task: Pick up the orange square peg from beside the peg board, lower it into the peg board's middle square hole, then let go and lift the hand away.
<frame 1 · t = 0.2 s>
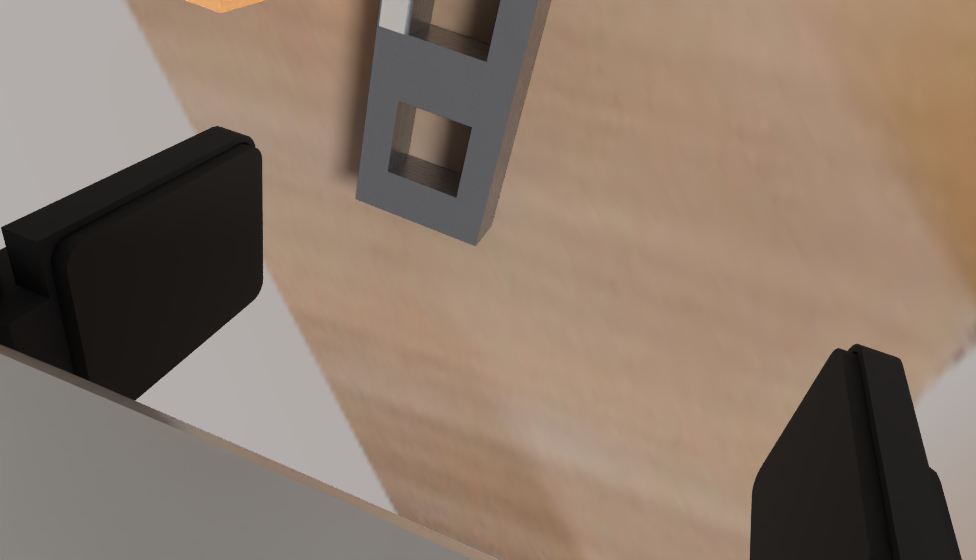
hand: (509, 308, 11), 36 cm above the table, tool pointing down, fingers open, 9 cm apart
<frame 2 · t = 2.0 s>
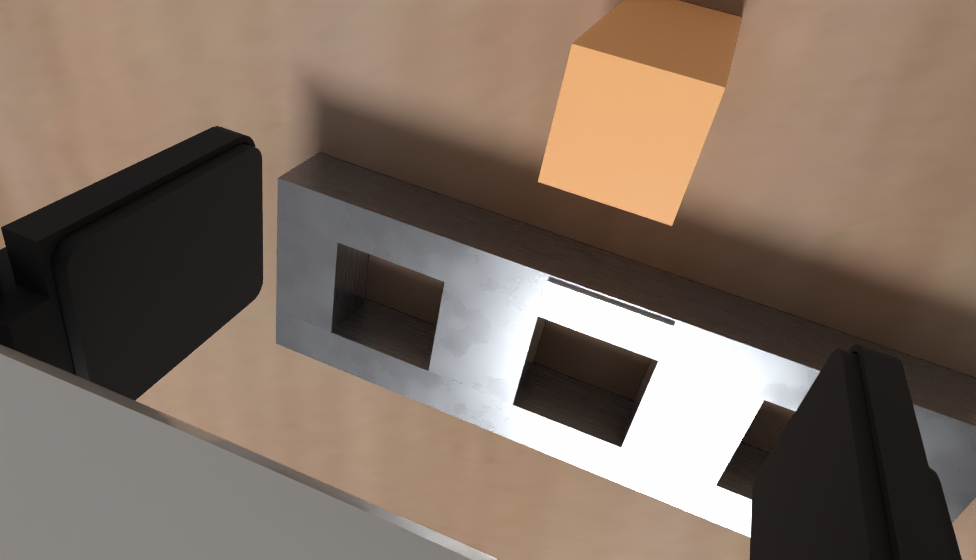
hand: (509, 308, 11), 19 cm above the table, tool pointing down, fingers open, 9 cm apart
square peg: (670, 56, 27), on the table
peg board: (597, 341, 34), on the table
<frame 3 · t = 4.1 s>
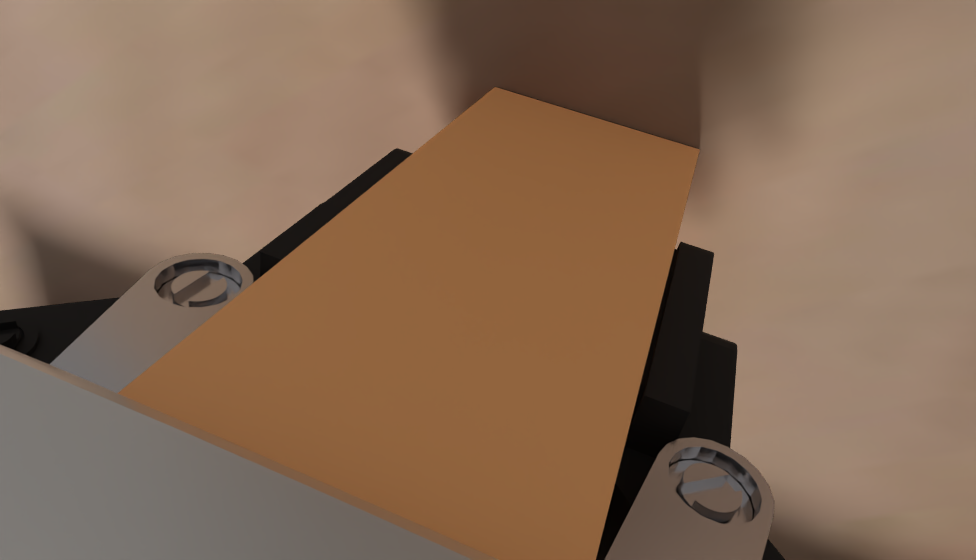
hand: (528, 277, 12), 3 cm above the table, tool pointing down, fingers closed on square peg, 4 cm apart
square peg: (567, 209, 14), on the table, touching gripper
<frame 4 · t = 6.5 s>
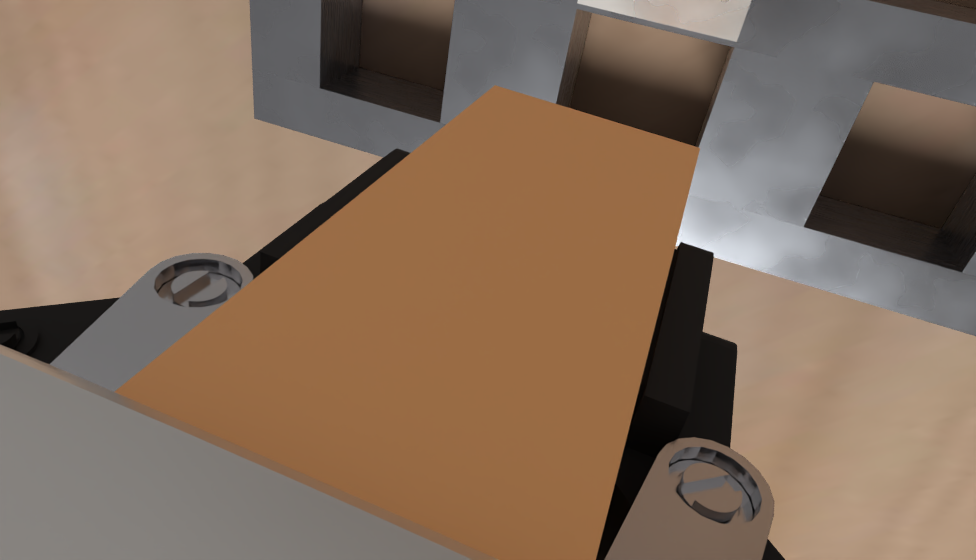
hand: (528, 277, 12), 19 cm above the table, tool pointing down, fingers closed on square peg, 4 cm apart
square peg: (568, 208, 14), point 16 cm above the table, touching gripper
peg board: (645, 79, 28), on the table
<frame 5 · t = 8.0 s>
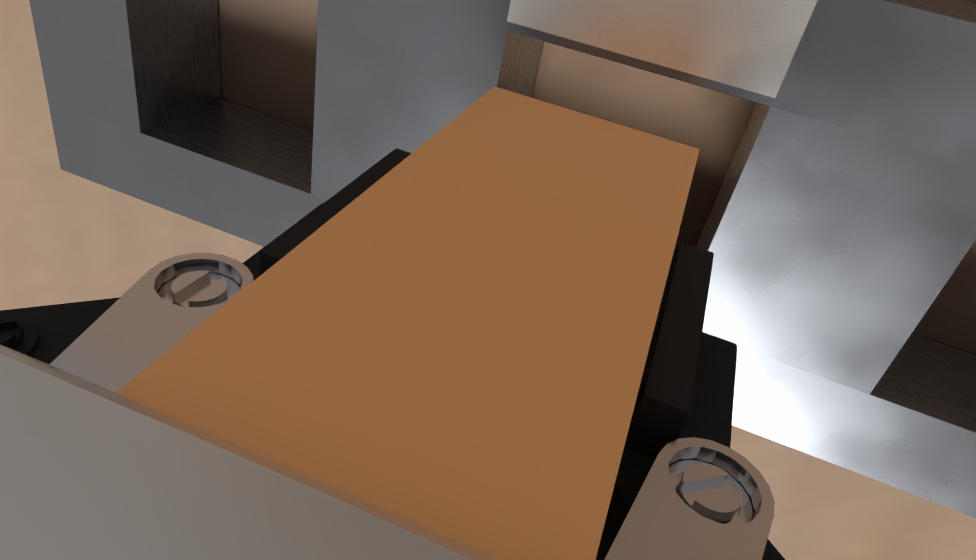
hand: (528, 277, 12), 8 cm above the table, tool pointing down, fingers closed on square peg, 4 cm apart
square peg: (567, 209, 14), point 5 cm above the table, touching gripper
peg board: (625, 138, 18), on the table
when the fingers open (4 cm above the table, at t = 9.1 s): square peg drops 2 cm, resting in peg board.
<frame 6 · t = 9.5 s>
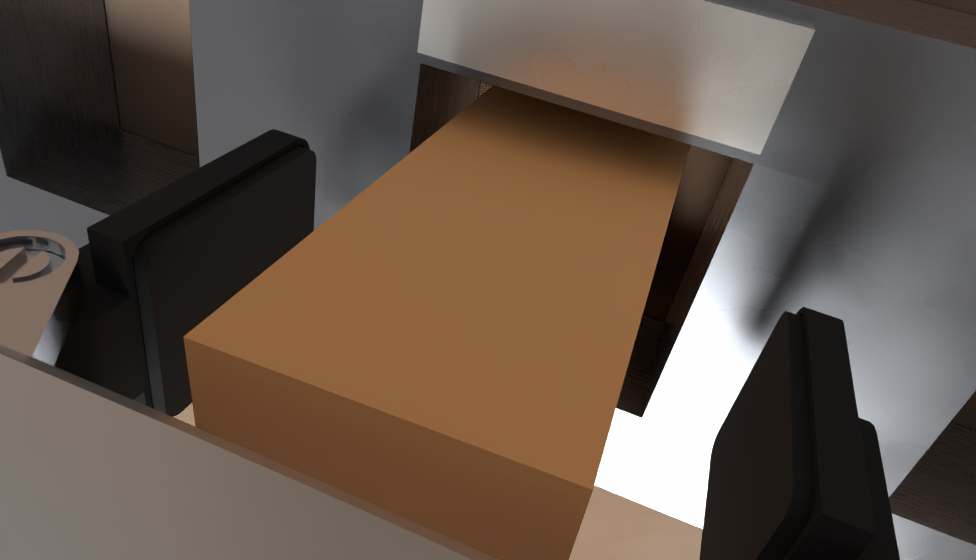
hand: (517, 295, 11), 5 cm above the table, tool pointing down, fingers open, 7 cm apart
square peg: (579, 183, 15), resting in peg board
peg board: (583, 182, 15), on the table
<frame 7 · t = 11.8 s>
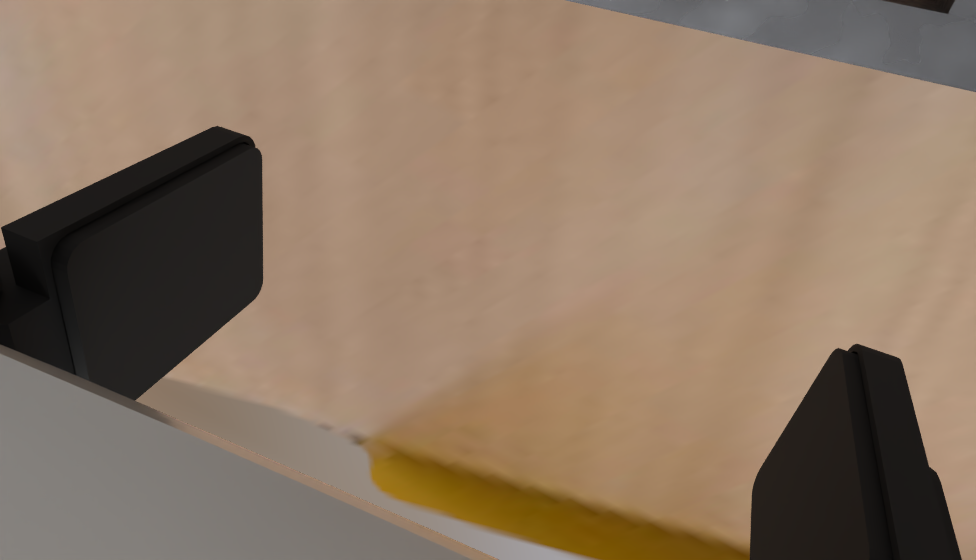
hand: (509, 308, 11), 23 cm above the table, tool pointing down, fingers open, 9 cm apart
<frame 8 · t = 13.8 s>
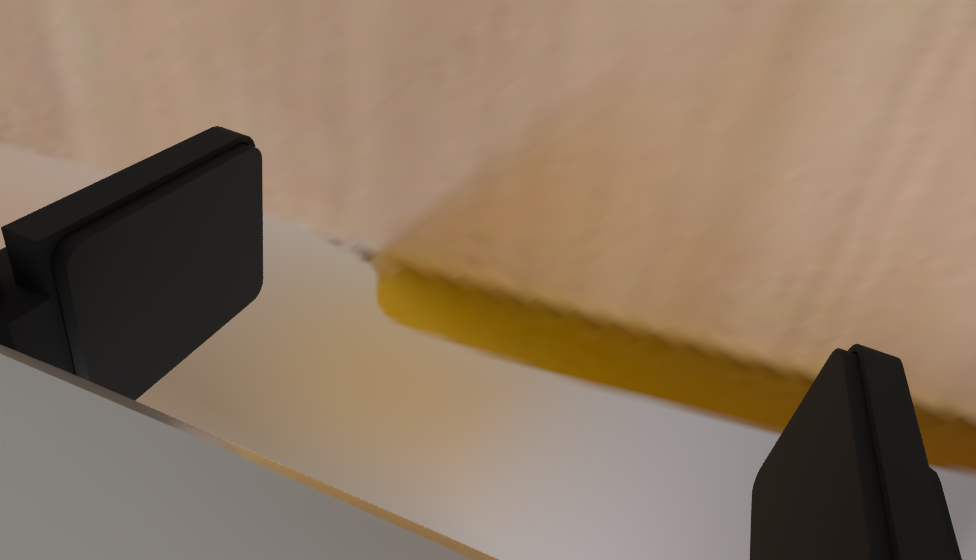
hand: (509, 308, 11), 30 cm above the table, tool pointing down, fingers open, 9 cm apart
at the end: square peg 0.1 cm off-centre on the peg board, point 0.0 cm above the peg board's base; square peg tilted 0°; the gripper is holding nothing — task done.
